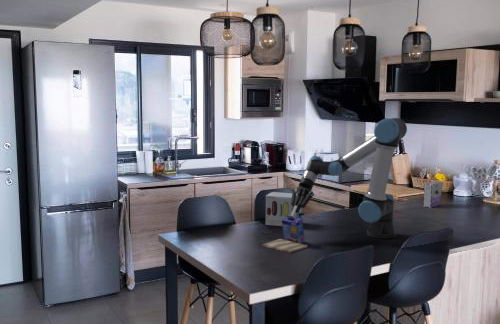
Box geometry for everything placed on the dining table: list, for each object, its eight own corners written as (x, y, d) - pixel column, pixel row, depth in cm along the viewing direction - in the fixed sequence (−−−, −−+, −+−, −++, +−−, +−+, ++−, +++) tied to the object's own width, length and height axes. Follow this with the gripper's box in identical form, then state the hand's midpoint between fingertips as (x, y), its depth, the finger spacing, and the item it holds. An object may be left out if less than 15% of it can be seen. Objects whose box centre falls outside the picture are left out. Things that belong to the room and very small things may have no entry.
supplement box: (265, 225, 304) (264, 195, 302) (272, 220, 316) (271, 191, 314) (293, 227, 298) (293, 197, 295) (299, 222, 310) (299, 193, 308)
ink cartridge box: (283, 241, 268) (280, 215, 265) (289, 237, 273) (286, 212, 269) (299, 244, 262) (296, 218, 259) (305, 240, 266) (302, 214, 263)
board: (307, 247, 257) (307, 245, 257) (290, 253, 247) (290, 251, 247) (280, 240, 270) (280, 238, 270) (262, 246, 260) (262, 244, 260)
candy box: (433, 204, 363) (434, 181, 361) (441, 205, 358) (442, 182, 356) (422, 206, 354) (423, 183, 352) (430, 208, 350) (431, 184, 348)
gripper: (320, 186, 278) (305, 222, 267) (299, 184, 285) (284, 219, 274) (316, 178, 273) (301, 214, 262) (294, 176, 280) (279, 211, 269)
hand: (292, 217), depth 268 cm, fingers closed
